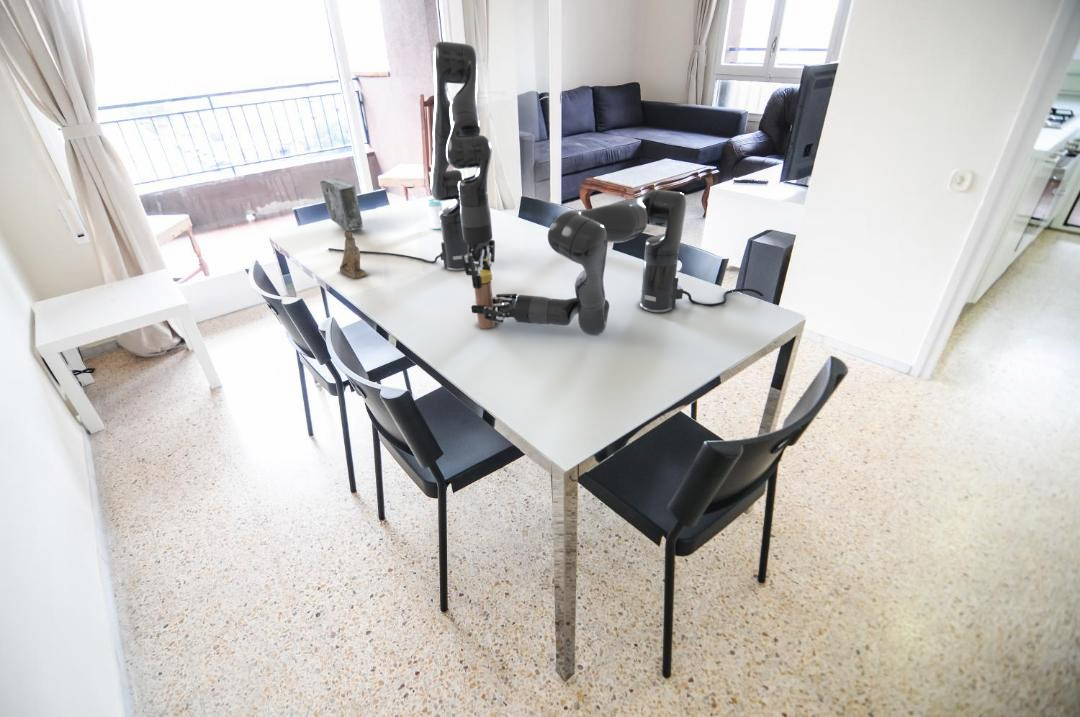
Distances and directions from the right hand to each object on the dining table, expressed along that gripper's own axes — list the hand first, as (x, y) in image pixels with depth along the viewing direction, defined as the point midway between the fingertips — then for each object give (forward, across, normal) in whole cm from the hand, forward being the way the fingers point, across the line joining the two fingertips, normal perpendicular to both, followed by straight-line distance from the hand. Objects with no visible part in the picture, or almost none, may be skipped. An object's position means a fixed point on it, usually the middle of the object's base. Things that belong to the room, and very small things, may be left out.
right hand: (475, 304), depth 138 cm
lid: (-3, 0, -9) cm, 10 cm away
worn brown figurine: (+59, -28, +6) cm, 66 cm away
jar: (-3, 0, +6) cm, 7 cm away
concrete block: (+93, -77, +6) cm, 121 cm away
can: (+52, -85, +6) cm, 99 cm away
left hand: (-3, 0, -6) cm, 7 cm away
